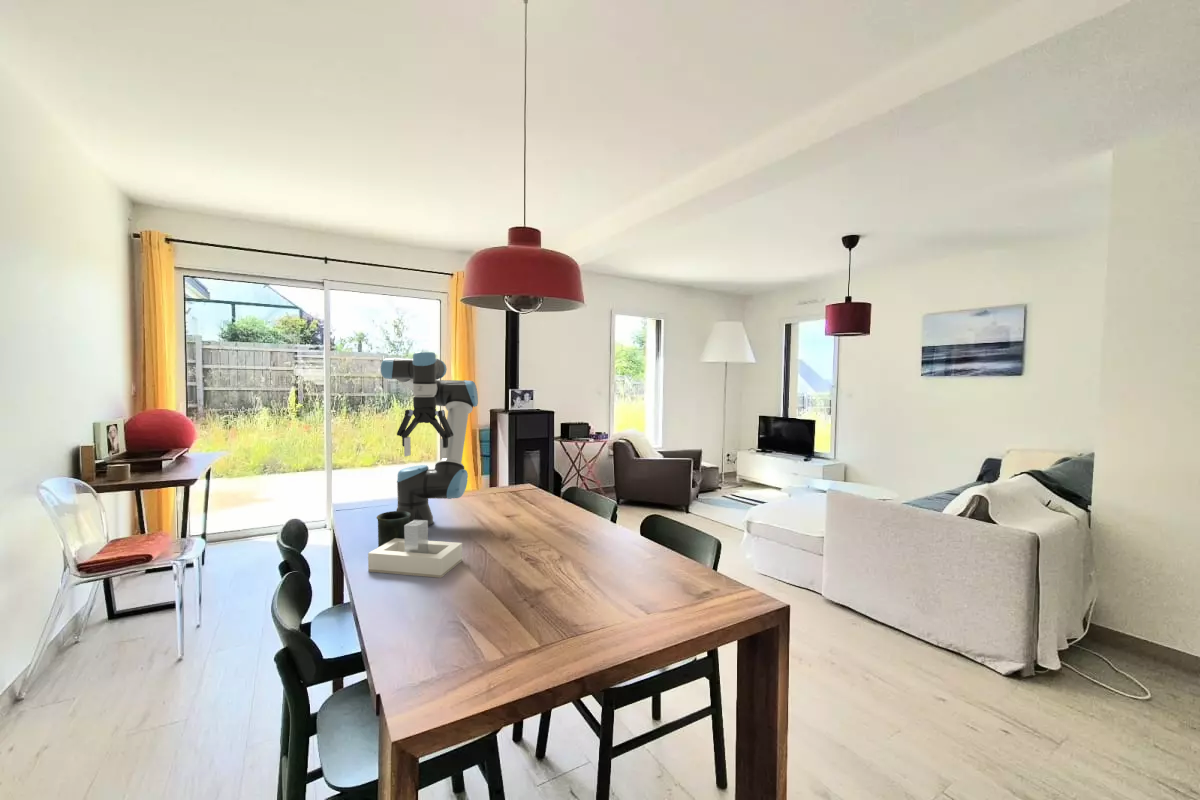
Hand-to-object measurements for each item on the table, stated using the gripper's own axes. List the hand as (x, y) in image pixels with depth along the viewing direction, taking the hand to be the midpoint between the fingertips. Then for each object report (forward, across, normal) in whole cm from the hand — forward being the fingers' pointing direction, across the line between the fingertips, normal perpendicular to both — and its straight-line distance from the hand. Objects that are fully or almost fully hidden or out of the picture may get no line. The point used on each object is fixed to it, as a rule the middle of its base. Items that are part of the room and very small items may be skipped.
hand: (425, 456), depth 172 cm
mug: (+32, -10, -5) cm, 34 cm away
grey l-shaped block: (+31, +10, -18) cm, 37 cm away
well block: (+32, +7, -18) cm, 37 cm away
